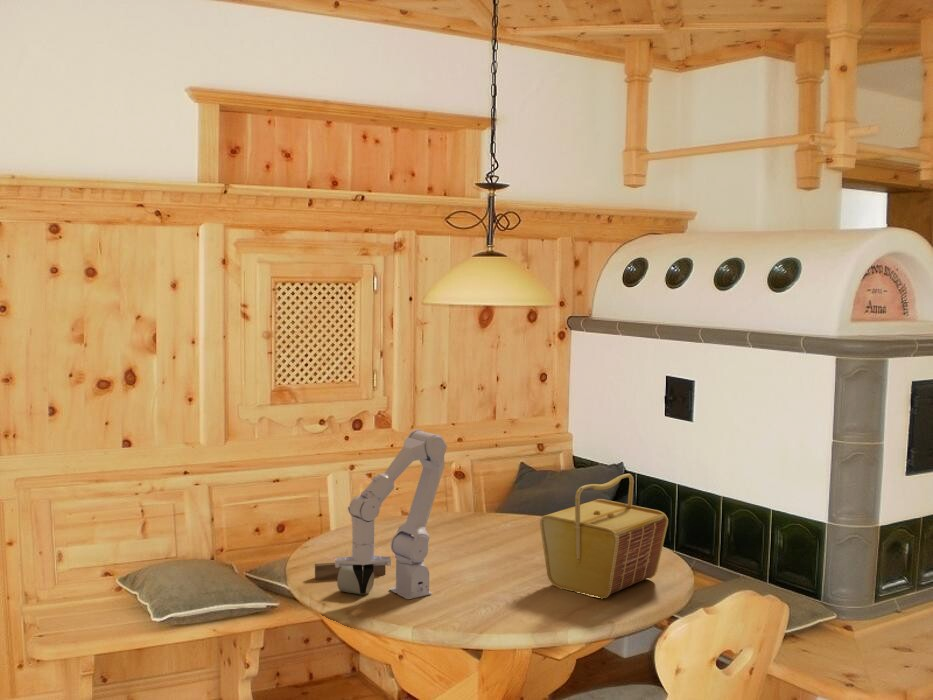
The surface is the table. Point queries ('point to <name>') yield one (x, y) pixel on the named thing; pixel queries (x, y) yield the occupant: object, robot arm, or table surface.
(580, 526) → the picnic basket
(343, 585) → the ceramic mug
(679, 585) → the table surface
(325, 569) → the rail
